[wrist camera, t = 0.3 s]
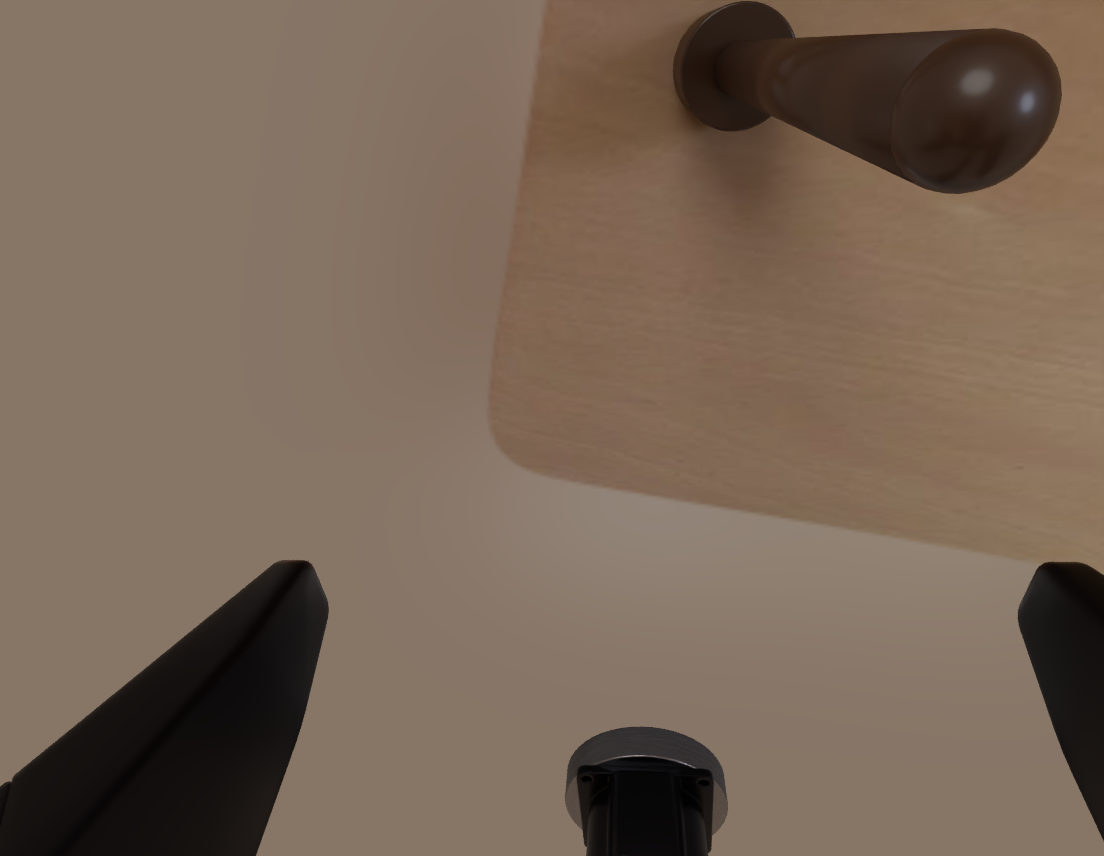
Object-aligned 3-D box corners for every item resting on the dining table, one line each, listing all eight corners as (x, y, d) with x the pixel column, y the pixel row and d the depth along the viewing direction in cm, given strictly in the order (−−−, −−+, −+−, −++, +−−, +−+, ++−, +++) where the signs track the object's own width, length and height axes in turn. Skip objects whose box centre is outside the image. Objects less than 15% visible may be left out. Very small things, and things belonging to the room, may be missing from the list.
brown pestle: (771, 115, 19) (1152, 297, 5) (673, 124, 20) (790, 315, 6) (778, 1, 18) (1311, -156, 4) (672, 13, 18) (824, -92, 4)
